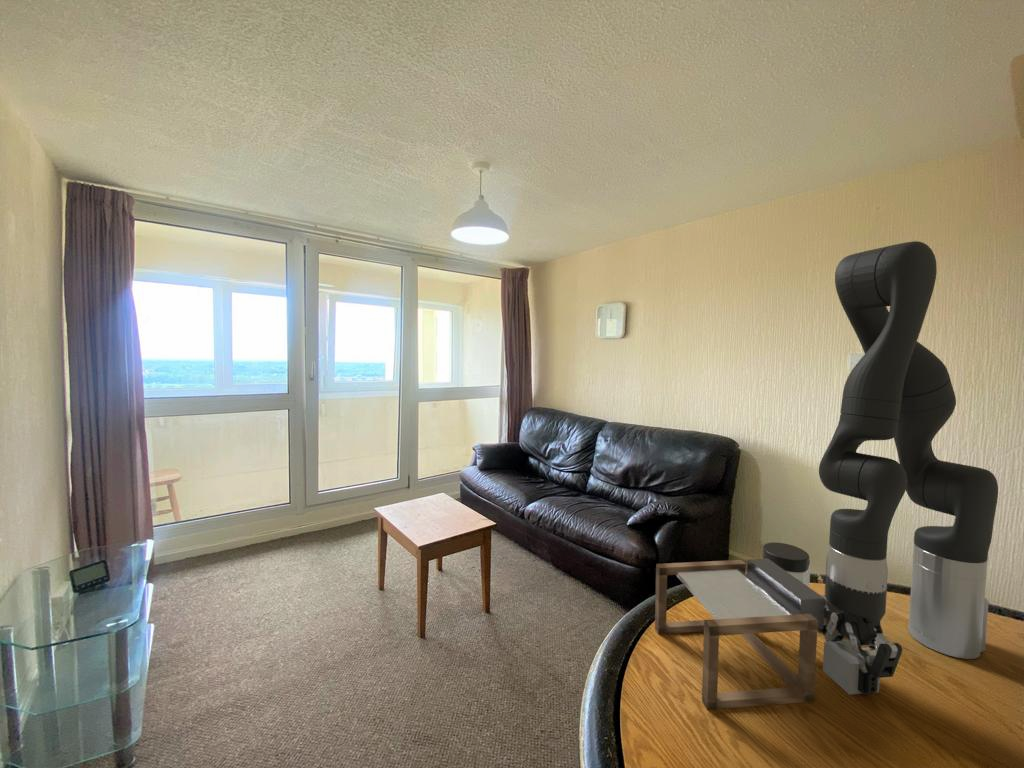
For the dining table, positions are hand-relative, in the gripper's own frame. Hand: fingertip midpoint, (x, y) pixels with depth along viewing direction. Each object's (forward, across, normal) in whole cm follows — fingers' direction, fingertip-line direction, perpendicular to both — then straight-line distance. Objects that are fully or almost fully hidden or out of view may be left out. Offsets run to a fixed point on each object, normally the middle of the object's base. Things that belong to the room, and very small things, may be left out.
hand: (849, 678), depth 68 cm
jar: (+1, +20, -4) cm, 20 cm away
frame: (0, +6, +17) cm, 18 cm away
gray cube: (0, 0, 0) cm, 0 cm away
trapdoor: (-9, +6, +14) cm, 18 cm away
